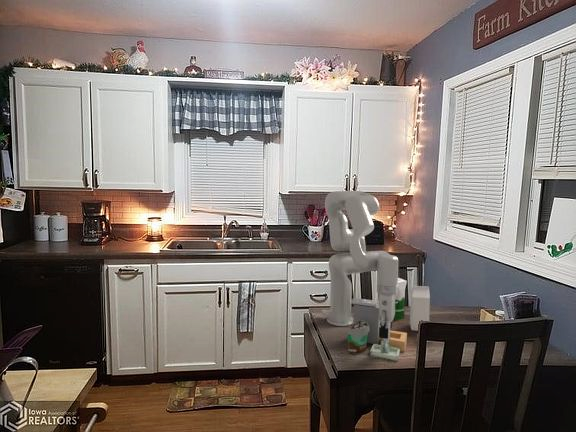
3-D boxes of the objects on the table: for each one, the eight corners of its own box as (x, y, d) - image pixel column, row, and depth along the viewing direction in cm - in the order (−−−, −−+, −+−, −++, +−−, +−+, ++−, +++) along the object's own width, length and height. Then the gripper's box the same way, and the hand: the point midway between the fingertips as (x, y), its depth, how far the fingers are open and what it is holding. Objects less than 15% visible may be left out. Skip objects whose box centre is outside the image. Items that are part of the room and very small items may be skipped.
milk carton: (428, 331, 166) (430, 289, 164) (411, 330, 167) (413, 288, 165) (426, 325, 173) (427, 284, 171) (409, 324, 174) (411, 283, 172)
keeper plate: (351, 303, 156) (351, 301, 156) (353, 300, 160) (353, 297, 160) (376, 306, 152) (376, 304, 152) (377, 303, 156) (378, 300, 156)
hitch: (351, 342, 155) (352, 306, 153) (356, 334, 163) (357, 300, 162) (404, 351, 147) (405, 314, 146) (406, 342, 155) (408, 306, 154)
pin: (380, 353, 144) (381, 317, 143) (381, 350, 147) (382, 314, 146) (388, 355, 143) (390, 319, 141) (389, 351, 146) (391, 316, 144)
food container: (362, 358, 142) (362, 332, 141) (346, 354, 145) (347, 328, 144) (373, 345, 152) (374, 321, 151) (358, 342, 156) (359, 318, 155)
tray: (369, 356, 144) (370, 351, 144) (373, 348, 150) (373, 343, 150) (397, 361, 140) (397, 356, 140) (399, 352, 146) (399, 348, 146)
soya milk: (393, 311, 190) (395, 272, 188) (407, 317, 182) (409, 276, 180) (380, 315, 186) (381, 274, 184) (394, 321, 178) (395, 279, 176)
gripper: (394, 296, 133) (392, 344, 135) (400, 283, 149) (398, 326, 151) (372, 294, 136) (371, 340, 138) (380, 281, 152) (379, 323, 154)
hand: (385, 332), depth 144 cm, fingers open, 9 cm apart
